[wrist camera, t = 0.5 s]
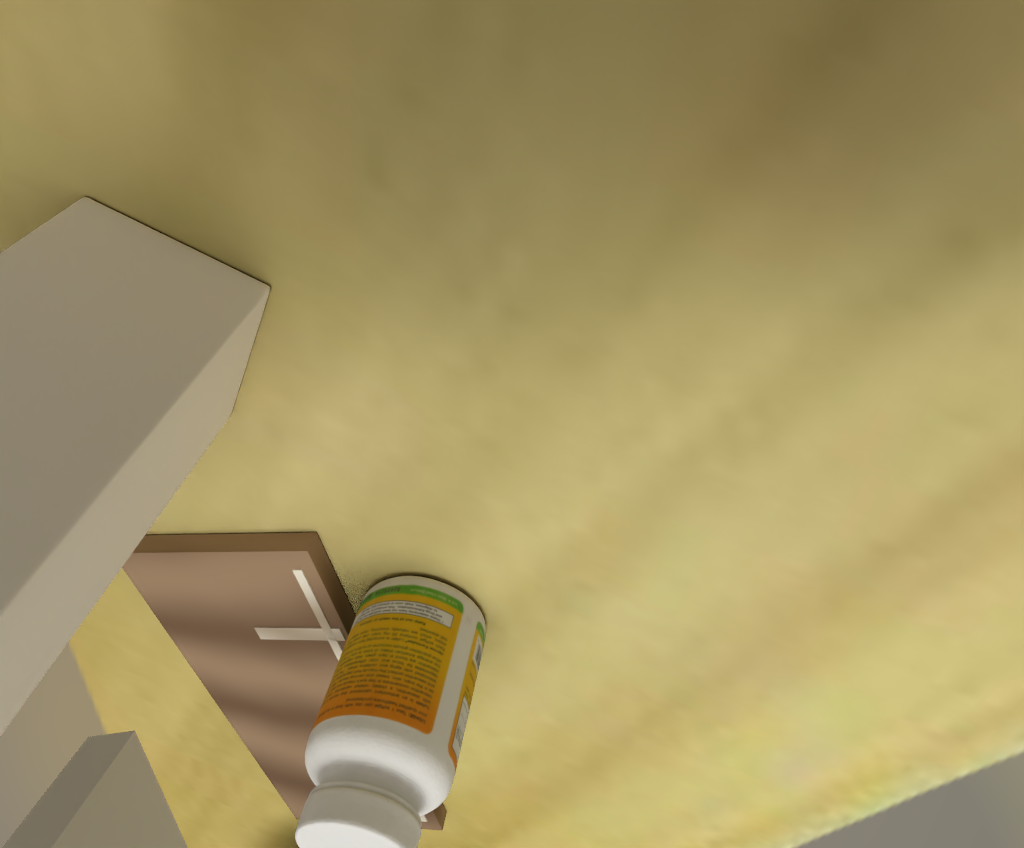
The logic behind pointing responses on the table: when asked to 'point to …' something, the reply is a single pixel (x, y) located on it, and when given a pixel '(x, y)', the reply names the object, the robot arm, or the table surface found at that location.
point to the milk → (101, 411)
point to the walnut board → (255, 636)
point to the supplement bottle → (392, 716)
